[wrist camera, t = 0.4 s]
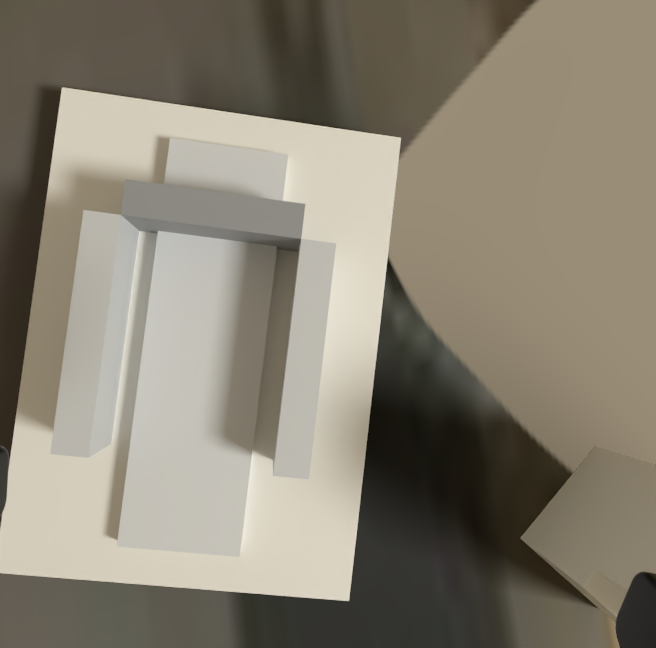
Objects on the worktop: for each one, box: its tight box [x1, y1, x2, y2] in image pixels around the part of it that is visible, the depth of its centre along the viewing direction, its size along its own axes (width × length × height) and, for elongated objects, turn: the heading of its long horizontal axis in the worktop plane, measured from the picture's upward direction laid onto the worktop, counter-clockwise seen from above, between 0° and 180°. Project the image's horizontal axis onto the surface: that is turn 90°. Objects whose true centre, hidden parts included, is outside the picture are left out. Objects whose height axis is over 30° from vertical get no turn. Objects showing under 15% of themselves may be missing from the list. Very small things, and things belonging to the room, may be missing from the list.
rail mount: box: [0, 87, 401, 601], centre depth 22 cm, size 18×13×4 cm
